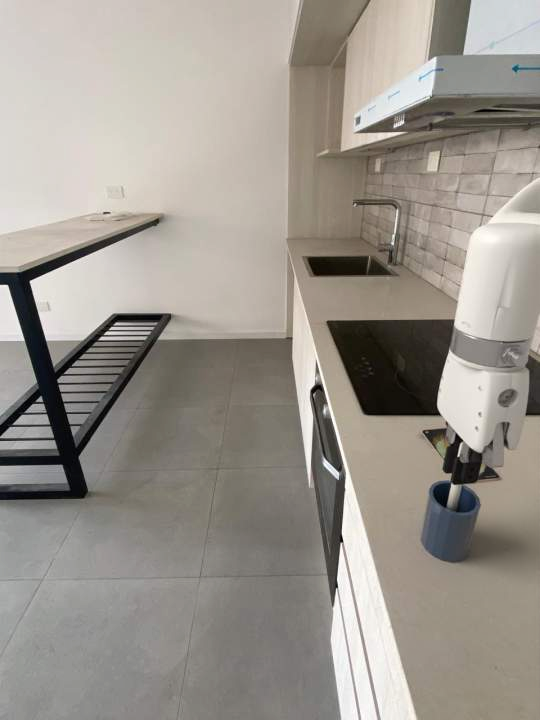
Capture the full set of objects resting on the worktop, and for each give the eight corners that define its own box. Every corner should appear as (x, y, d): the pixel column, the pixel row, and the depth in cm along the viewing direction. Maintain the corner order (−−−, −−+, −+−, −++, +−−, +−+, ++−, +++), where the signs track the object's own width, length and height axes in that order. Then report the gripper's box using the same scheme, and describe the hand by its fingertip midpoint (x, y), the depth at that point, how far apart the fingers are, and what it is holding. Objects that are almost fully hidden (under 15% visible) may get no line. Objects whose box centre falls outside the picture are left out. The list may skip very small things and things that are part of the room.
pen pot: (453, 525, 59) (464, 478, 55) (476, 562, 53) (490, 513, 49) (413, 529, 58) (421, 482, 54) (432, 566, 53) (442, 517, 49)
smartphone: (454, 427, 80) (501, 477, 66) (454, 429, 80) (500, 481, 66) (420, 429, 79) (460, 481, 66) (420, 432, 79) (459, 484, 66)
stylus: (447, 530, 55) (468, 439, 49) (451, 538, 54) (473, 445, 48) (439, 531, 55) (458, 439, 49) (443, 538, 54) (464, 446, 47)
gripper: (578, 375, 36) (528, 522, 44) (480, 318, 50) (455, 437, 58) (499, 381, 35) (462, 529, 43) (423, 322, 49) (406, 442, 57)
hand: (459, 476), depth 50 cm, fingers closed
